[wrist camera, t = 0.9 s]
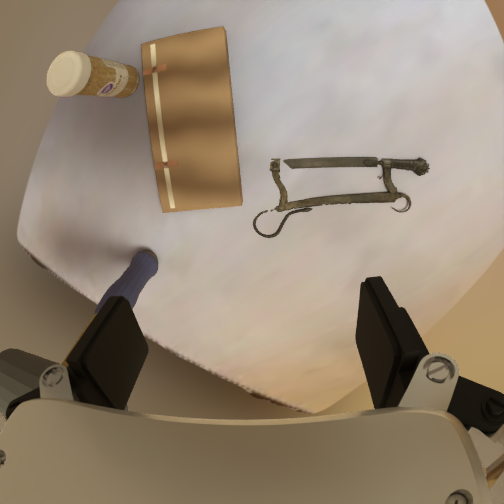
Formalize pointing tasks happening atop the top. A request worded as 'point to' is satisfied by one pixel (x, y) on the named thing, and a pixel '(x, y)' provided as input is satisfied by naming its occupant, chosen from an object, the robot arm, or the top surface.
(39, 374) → the rubber mallet
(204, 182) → the board
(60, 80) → the sprinkles bottle
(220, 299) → the top surface
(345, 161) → the hacksaw
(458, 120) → the top surface
